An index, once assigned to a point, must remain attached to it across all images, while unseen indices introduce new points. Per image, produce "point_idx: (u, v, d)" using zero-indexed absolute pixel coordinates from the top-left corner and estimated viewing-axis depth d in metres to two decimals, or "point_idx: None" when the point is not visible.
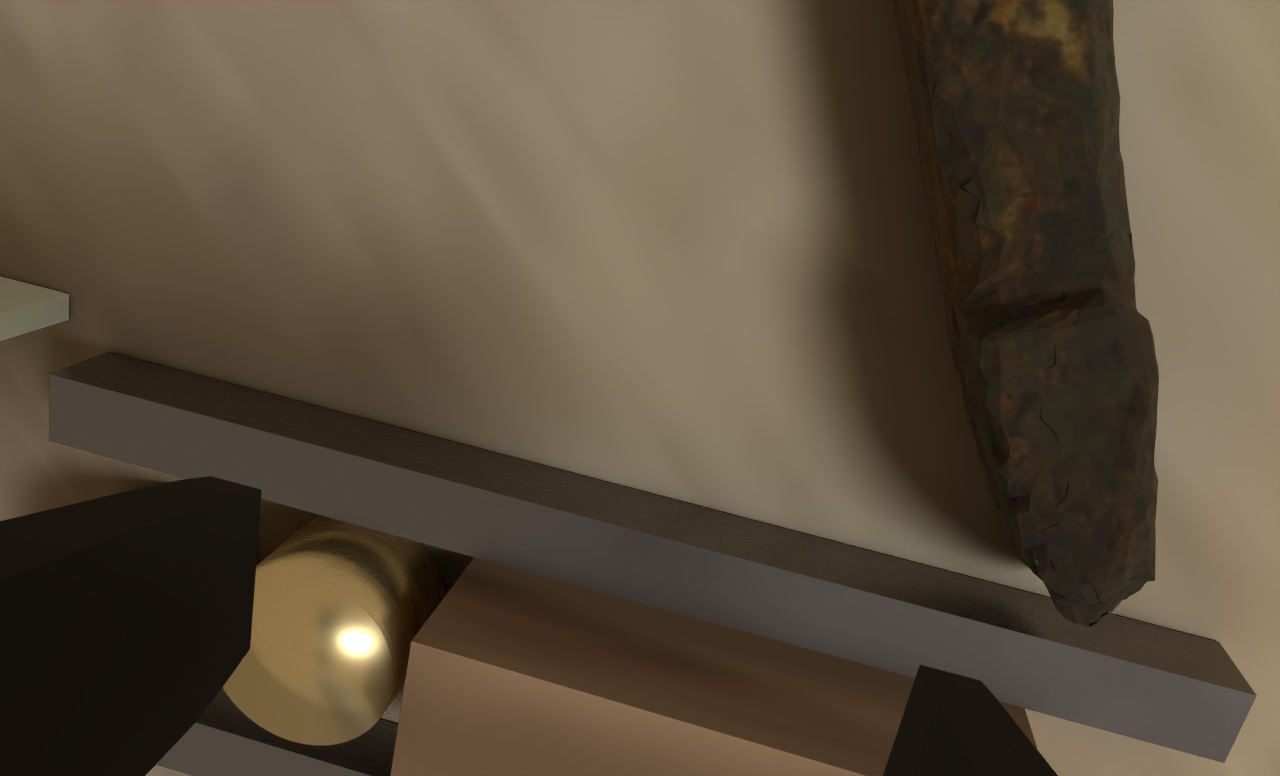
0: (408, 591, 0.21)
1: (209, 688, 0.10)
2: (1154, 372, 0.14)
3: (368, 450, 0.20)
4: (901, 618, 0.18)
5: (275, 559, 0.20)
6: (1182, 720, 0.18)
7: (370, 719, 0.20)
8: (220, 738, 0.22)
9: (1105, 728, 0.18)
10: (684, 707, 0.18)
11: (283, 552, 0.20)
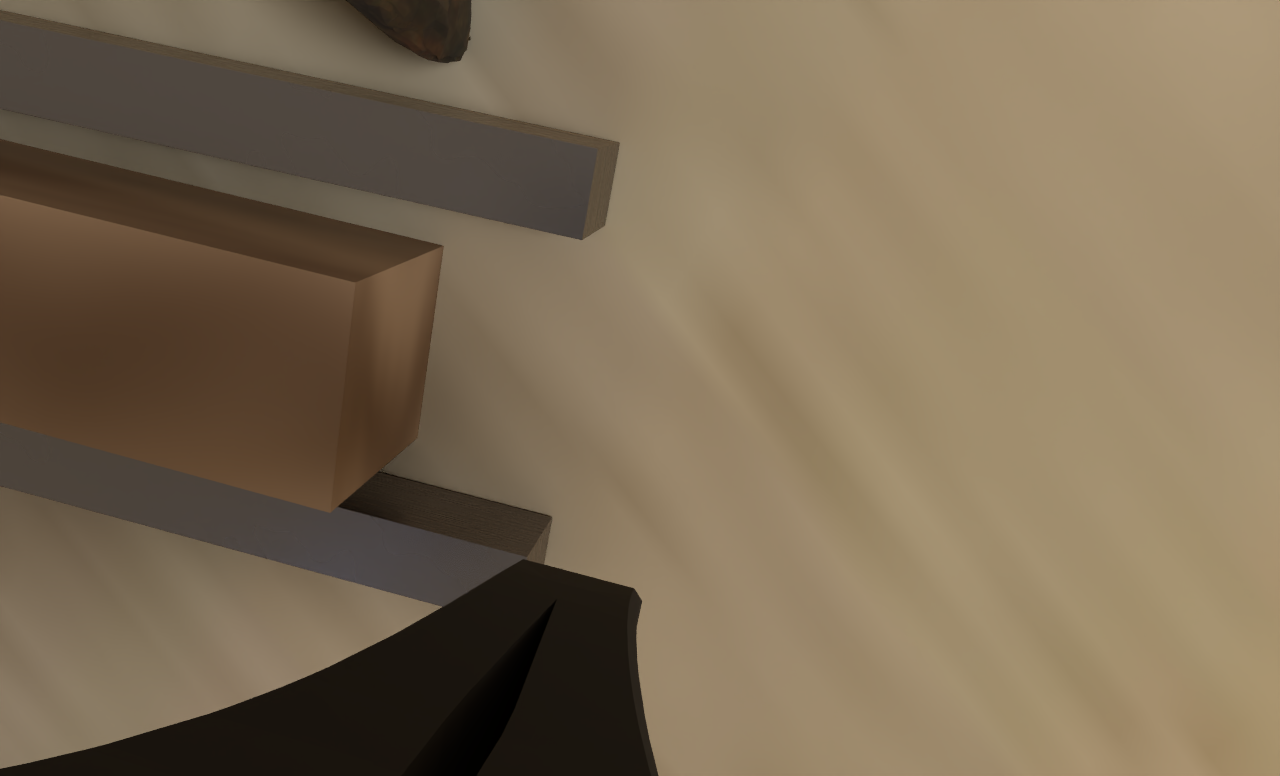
0: None
1: None
2: None
3: None
4: (235, 92, 0.17)
5: None
6: (531, 189, 0.16)
7: None
8: None
9: (458, 209, 0.17)
10: None
11: None
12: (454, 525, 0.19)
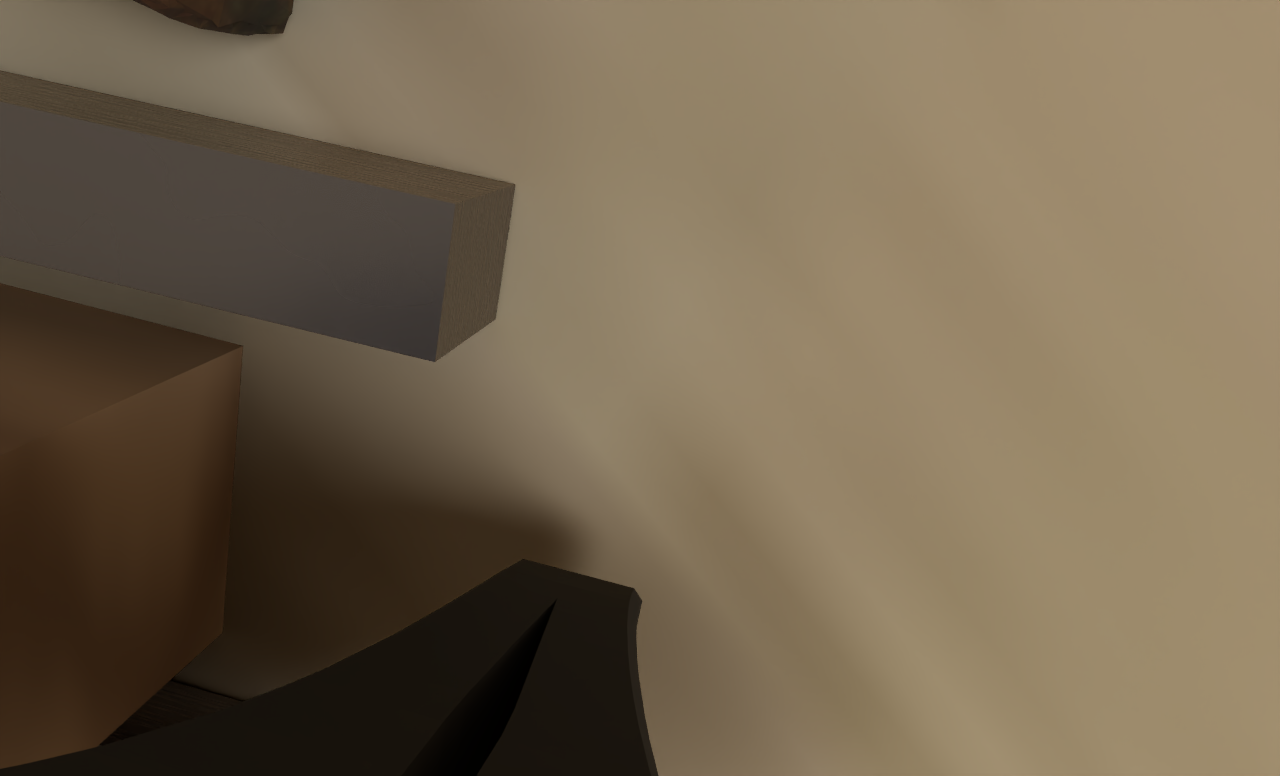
0: None
1: None
2: None
3: None
4: None
5: None
6: (343, 274, 0.09)
7: None
8: None
9: (222, 306, 0.10)
10: None
11: None
12: None
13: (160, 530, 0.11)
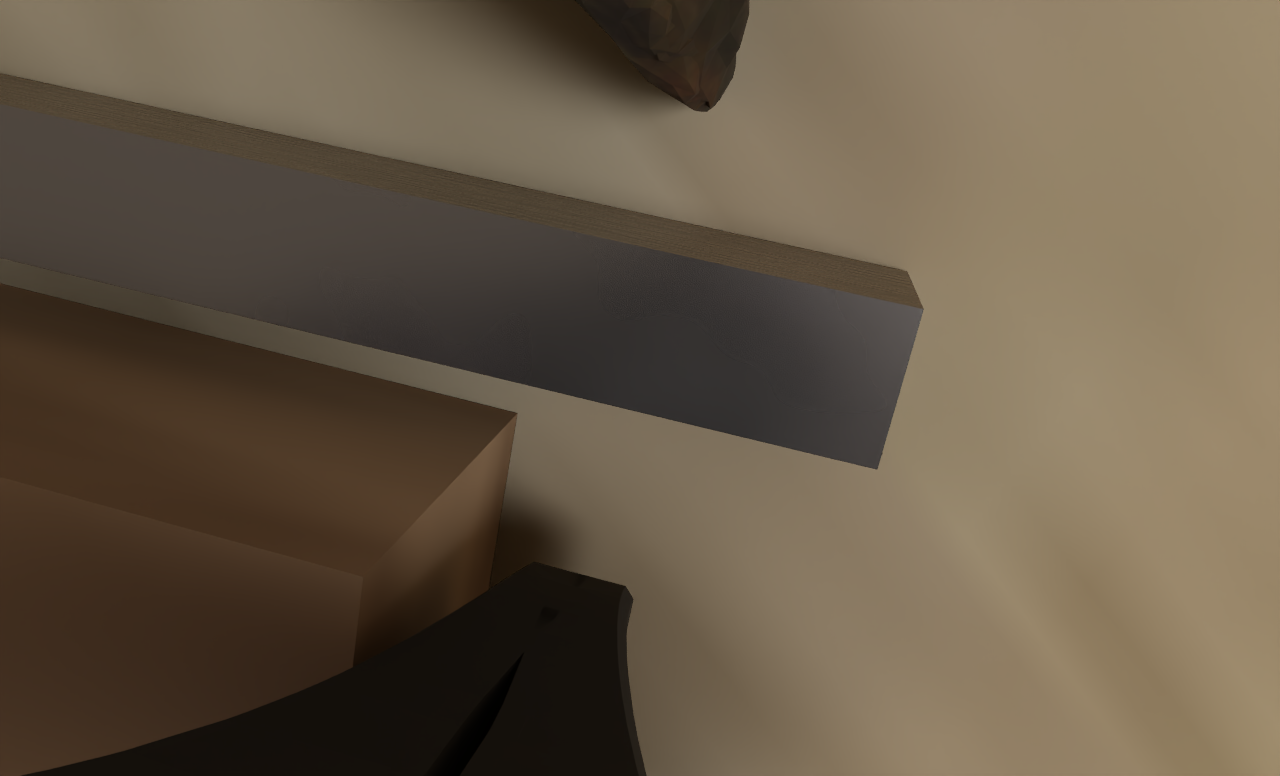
0: None
1: None
2: None
3: None
4: (234, 194, 0.09)
5: None
6: (785, 379, 0.09)
7: None
8: None
9: (643, 408, 0.09)
10: None
11: None
12: None
13: None
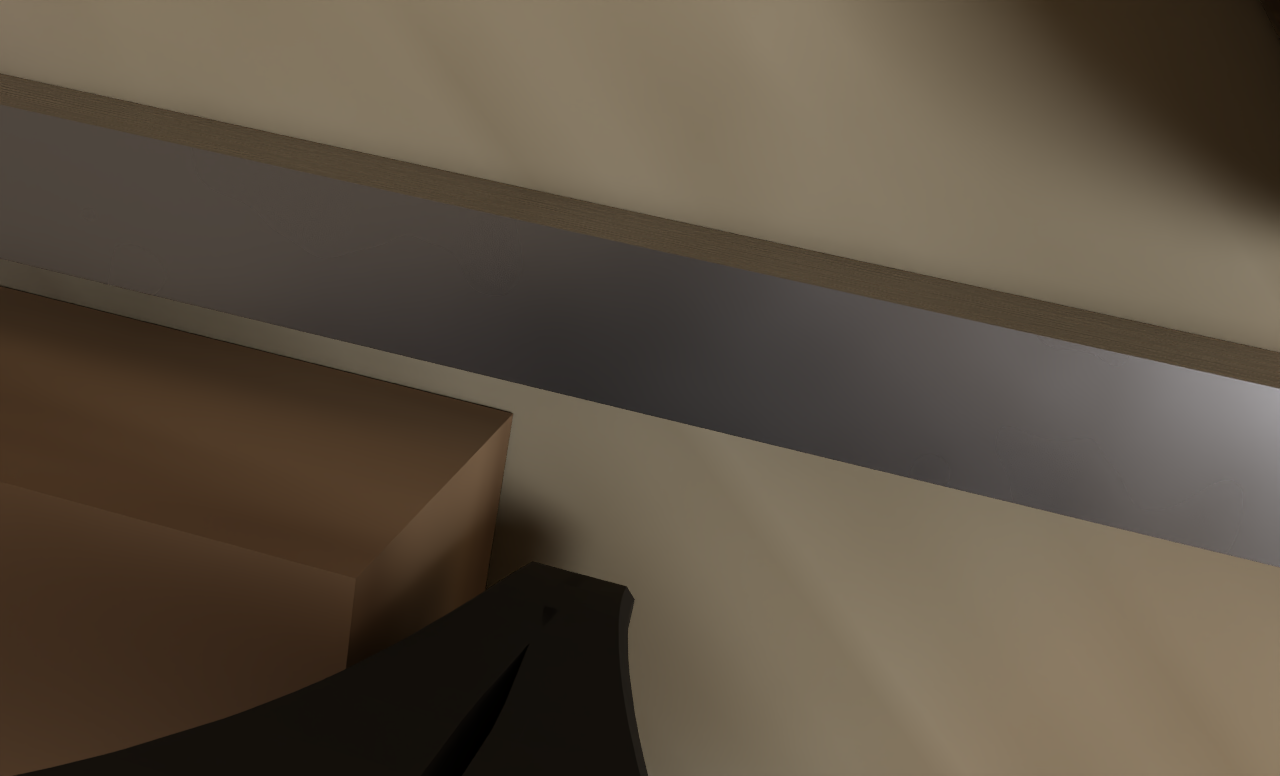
0: None
1: None
2: None
3: None
4: (912, 348, 0.08)
5: None
6: None
7: None
8: None
9: None
10: None
11: None
12: None
13: None
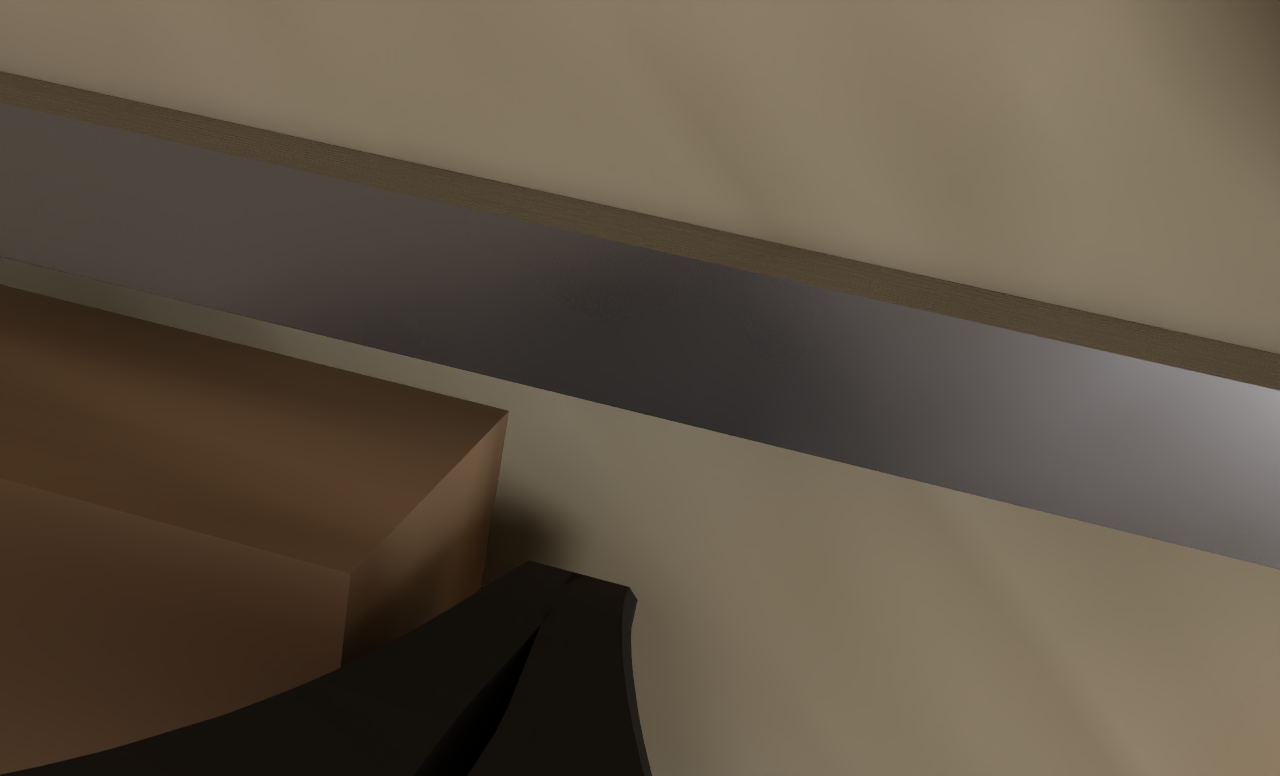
0: None
1: None
2: None
3: (76, 112, 0.10)
4: (1232, 422, 0.08)
5: None
6: None
7: None
8: None
9: None
10: None
11: None
12: None
13: None
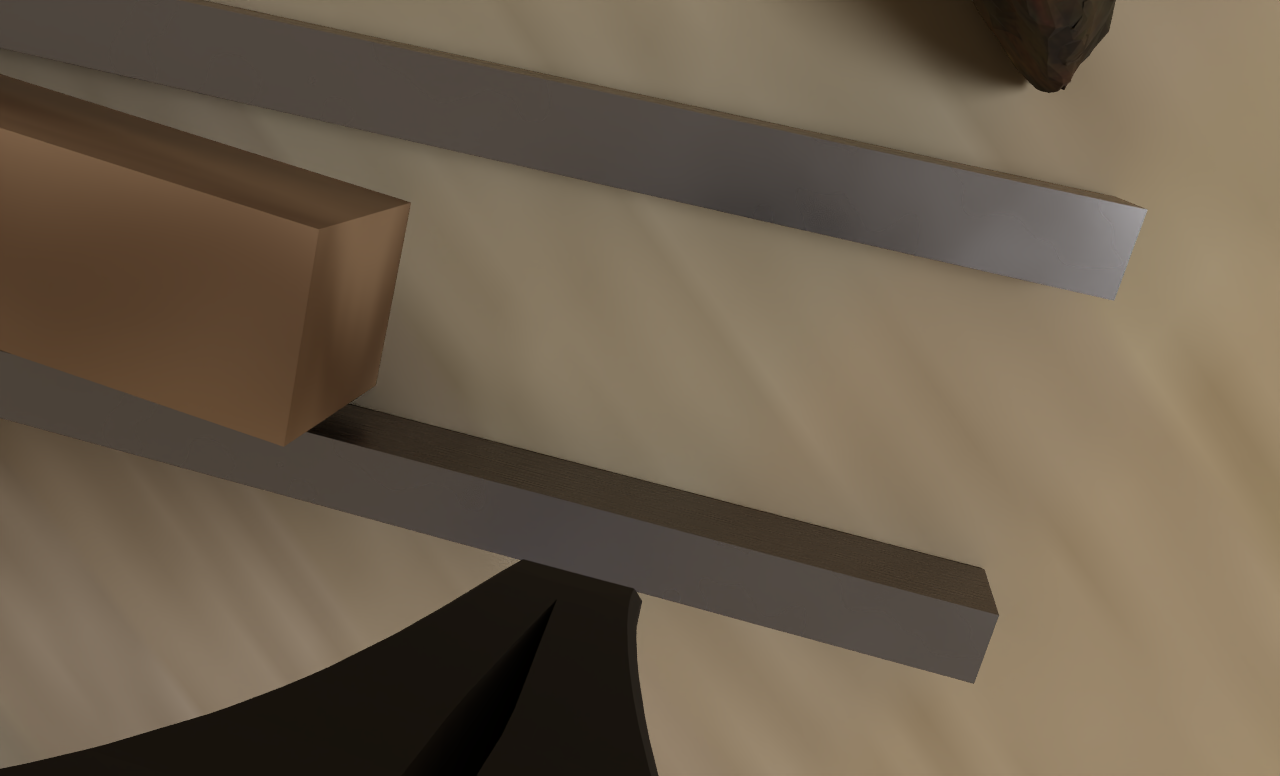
0: None
1: None
2: None
3: None
4: (751, 146, 0.16)
5: None
6: (1066, 249, 0.16)
7: None
8: (29, 369, 0.20)
9: (981, 267, 0.16)
10: None
11: None
12: (910, 580, 0.19)
13: (363, 301, 0.19)
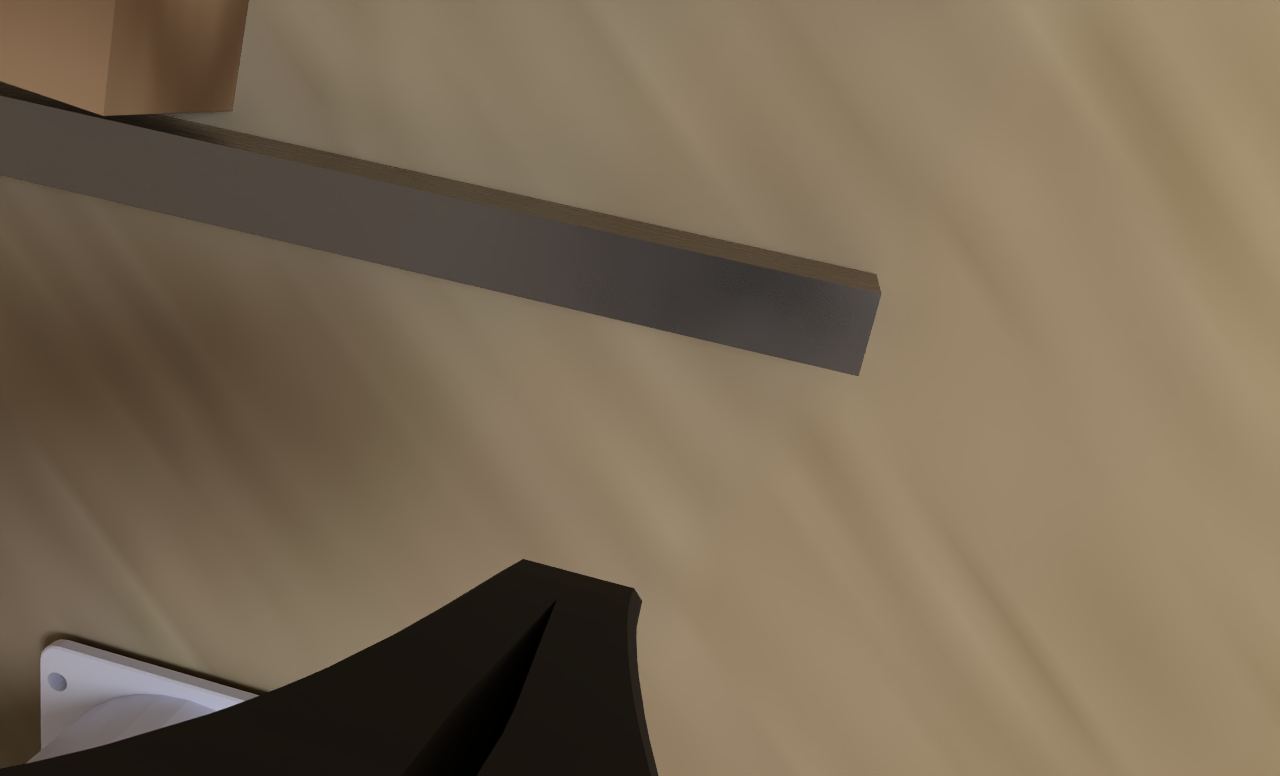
0: None
1: None
2: None
3: None
4: None
5: None
6: None
7: None
8: None
9: None
10: None
11: None
12: (790, 268, 0.17)
13: None
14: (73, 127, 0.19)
